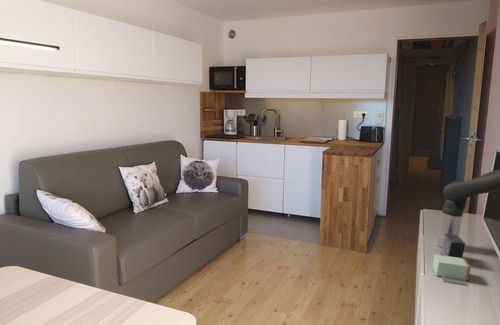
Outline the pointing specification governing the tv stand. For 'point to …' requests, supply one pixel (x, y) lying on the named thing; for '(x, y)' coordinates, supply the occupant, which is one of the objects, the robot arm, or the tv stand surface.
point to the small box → (452, 246)
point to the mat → (454, 280)
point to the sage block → (451, 267)
